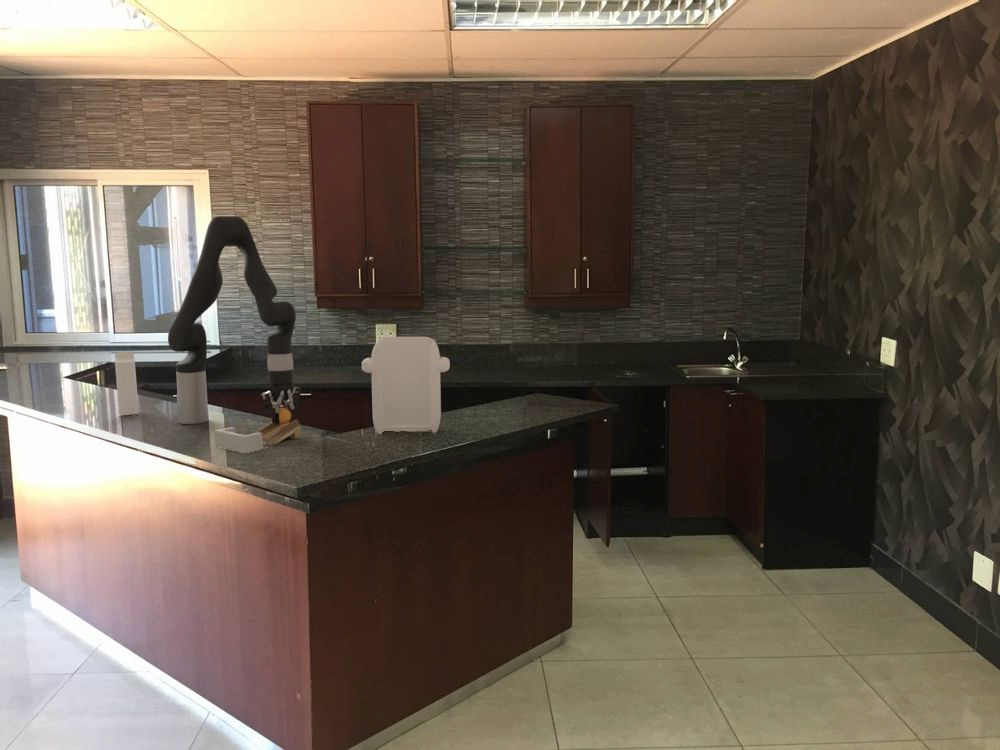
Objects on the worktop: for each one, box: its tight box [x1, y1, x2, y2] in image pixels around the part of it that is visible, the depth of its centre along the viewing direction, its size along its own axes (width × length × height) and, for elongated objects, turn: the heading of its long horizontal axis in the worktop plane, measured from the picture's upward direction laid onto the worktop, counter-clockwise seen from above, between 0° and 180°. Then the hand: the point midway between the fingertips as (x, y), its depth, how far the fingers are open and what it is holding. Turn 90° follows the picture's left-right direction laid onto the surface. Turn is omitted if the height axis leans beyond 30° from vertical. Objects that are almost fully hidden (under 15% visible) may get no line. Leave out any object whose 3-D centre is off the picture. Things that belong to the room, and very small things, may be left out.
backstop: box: [214, 426, 264, 455], centre depth 242 cm, size 14×6×5 cm, turn 53°
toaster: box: [361, 336, 451, 435], centre depth 262 cm, size 27×11×30 cm, turn 92°
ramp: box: [253, 418, 302, 446], centre depth 252 cm, size 8×13×7 cm, turn 144°
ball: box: [278, 407, 291, 424], centre depth 254 cm, size 5×5×5 cm
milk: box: [114, 351, 139, 416], centre depth 290 cm, size 6×6×22 cm
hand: (282, 422), depth 254 cm, fingers closed on ball, 4 cm apart
